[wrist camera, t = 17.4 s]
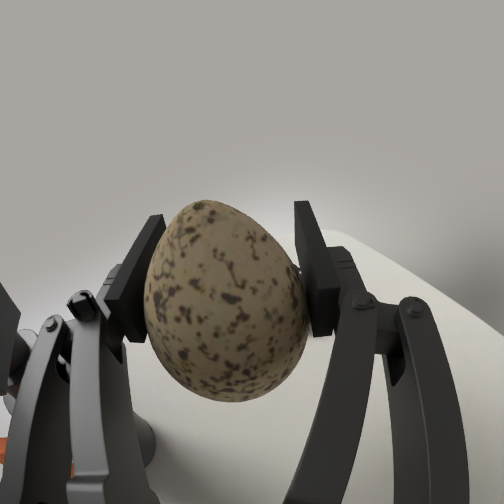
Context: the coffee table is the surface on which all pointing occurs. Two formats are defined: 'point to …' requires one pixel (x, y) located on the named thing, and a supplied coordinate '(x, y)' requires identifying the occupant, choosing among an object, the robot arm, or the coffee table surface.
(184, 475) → the coffee table surface
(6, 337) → the spray bottle
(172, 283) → the decorative egg
